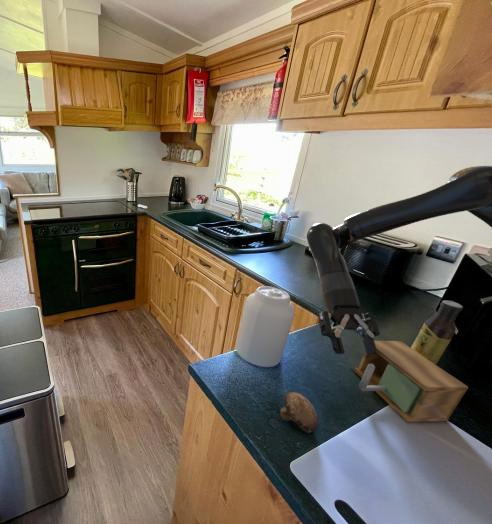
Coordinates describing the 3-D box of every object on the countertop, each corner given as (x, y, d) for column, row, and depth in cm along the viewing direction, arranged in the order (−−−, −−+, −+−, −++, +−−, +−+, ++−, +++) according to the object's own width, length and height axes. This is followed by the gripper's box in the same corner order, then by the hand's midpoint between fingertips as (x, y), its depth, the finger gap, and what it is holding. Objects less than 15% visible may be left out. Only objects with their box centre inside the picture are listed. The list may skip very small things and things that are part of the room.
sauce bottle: (404, 351, 89) (432, 294, 82) (431, 359, 86) (462, 301, 79) (409, 363, 84) (440, 304, 77) (438, 372, 81) (472, 311, 74)
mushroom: (268, 404, 62) (293, 390, 59) (278, 397, 68) (301, 384, 65) (294, 444, 58) (322, 431, 55) (302, 432, 64) (327, 420, 61)
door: (377, 412, 64) (392, 383, 61) (352, 386, 71) (364, 359, 68) (407, 412, 65) (423, 383, 62) (379, 386, 72) (392, 359, 69)
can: (258, 337, 91) (272, 279, 84) (290, 363, 80) (310, 299, 73) (226, 344, 86) (238, 284, 79) (255, 373, 75) (273, 306, 68)
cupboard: (407, 421, 64) (426, 387, 61) (353, 370, 79) (366, 340, 76) (447, 421, 65) (468, 387, 62) (386, 370, 80) (401, 341, 76)
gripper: (323, 286, 74) (340, 351, 67) (374, 288, 75) (396, 352, 69) (305, 294, 81) (319, 355, 74) (352, 296, 82) (370, 355, 76)
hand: (356, 353), depth 72 cm, fingers open, 8 cm apart
